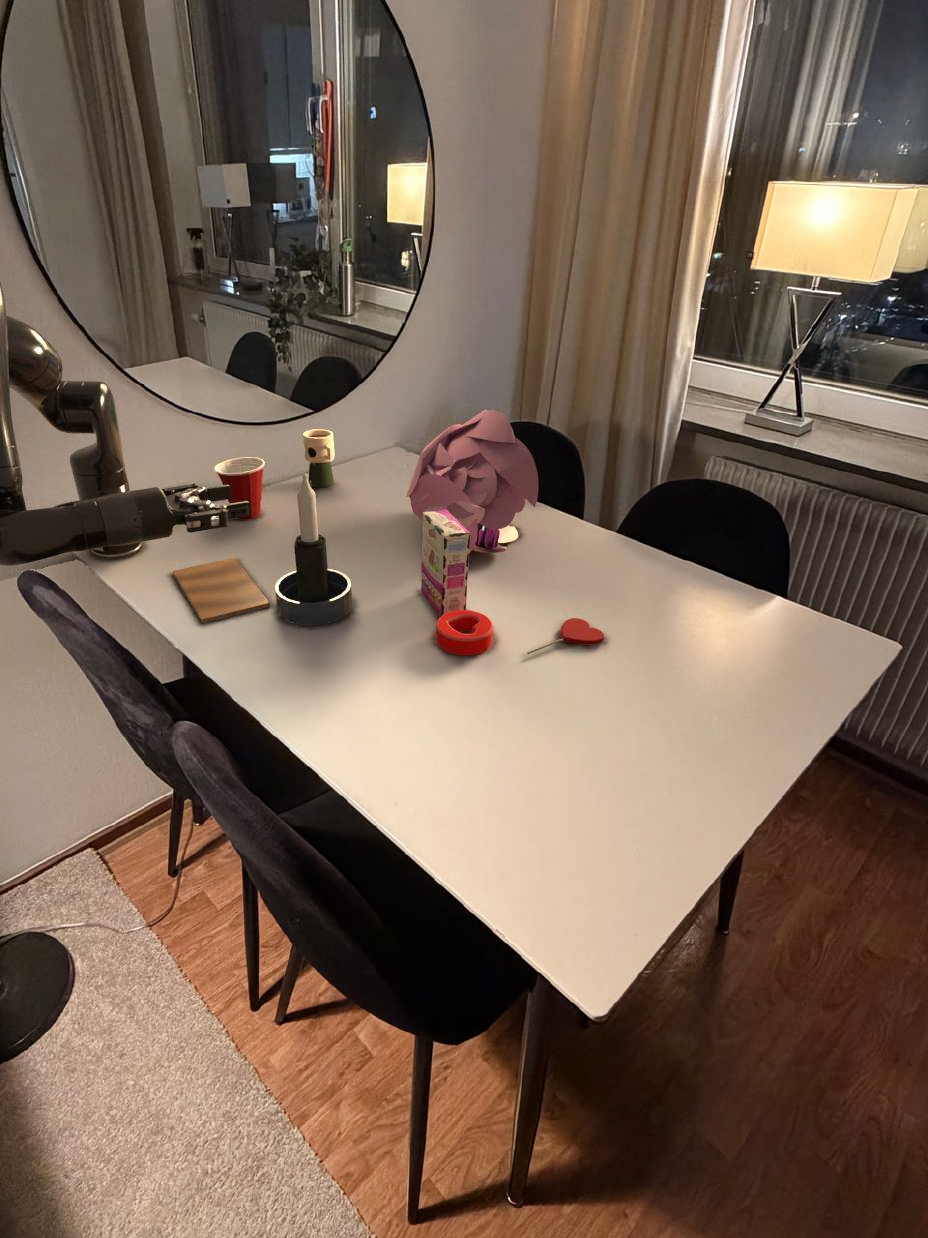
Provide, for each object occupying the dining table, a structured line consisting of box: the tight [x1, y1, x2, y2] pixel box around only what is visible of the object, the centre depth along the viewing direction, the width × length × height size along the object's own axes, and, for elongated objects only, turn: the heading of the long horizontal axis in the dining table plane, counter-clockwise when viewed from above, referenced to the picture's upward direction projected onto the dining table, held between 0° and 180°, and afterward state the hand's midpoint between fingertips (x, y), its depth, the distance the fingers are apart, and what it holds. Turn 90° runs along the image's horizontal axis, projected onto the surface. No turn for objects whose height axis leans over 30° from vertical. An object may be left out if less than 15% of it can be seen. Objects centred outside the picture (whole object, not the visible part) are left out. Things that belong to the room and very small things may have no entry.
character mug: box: [302, 428, 335, 488], centre depth 179 cm, size 11×7×13 cm, turn 38°
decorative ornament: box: [435, 609, 494, 656], centre depth 125 cm, size 10×10×3 cm
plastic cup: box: [213, 456, 266, 521], centre depth 162 cm, size 11×11×12 cm
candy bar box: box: [420, 510, 470, 618], centre depth 131 cm, size 11×5×16 cm, turn 23°
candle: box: [293, 473, 330, 603], centre depth 126 cm, size 5×5×25 cm
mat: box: [172, 557, 271, 624], centre depth 136 cm, size 20×12×1 cm, turn 32°
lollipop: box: [526, 617, 605, 655], centre depth 125 cm, size 8×1×15 cm
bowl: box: [274, 568, 353, 627], centre depth 131 cm, size 13×13×4 cm
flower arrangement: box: [405, 409, 539, 554], centre depth 155 cm, size 35×24×28 cm
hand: (240, 499), depth 116 cm, fingers open, 8 cm apart
